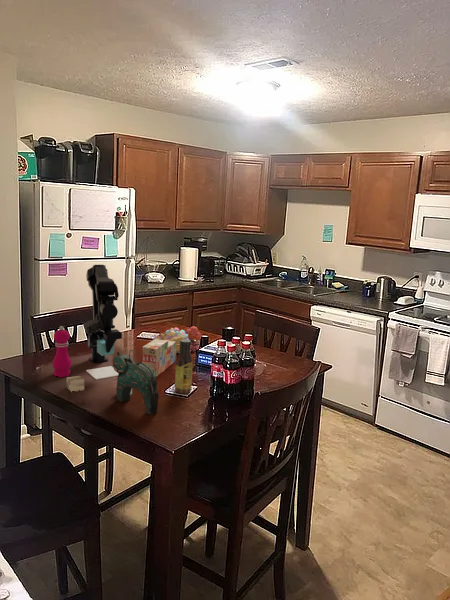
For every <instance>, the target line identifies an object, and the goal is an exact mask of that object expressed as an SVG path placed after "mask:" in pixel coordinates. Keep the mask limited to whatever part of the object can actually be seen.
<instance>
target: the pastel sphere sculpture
mask: <svg viewBox="0 0 450 600" xmlns="http://www.w3.org/2000/svg"><path fill="white" fill-rule="evenodd" d="M190 334H191V335H194V336H195V337H196V338H197V339H198V341H196V339H194V338H192V337H189V335H190ZM201 335H202V334H201V332H199V330H198V328H197V327H196V326H191V327H190V328H187V329H186V330H183V329H181V330H180V329H179V328H178V327H174V328H173V327H171V328H170V329H167V330H166V331H165V332H162V333H160V334H156V333H155V334H153V340H154V339H159V340H167V341H175V342H176V354H179V353H180V340H183V339H187V340H190V341H191V345H190V353H191V352H192V353H194V352H195V353H196V352H197V351H196V350H197V349H199V342H200V339H201V337H202V336H201Z"/></svg>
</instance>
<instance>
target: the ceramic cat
mask: <svg viewBox="0 0 450 600" xmlns="http://www.w3.org/2000/svg"><path fill="white" fill-rule="evenodd" d="M131 352H132V353H133V354H134V355H135V356H136V355H137V354H136V351H134V350H133V349H130V350H129V353H126V354H125V353H124V354H122V353H120V352H119V351H117V353H116V356H115V357H114V358H113V359H112V361H113V362H112V363H113V364H112V367H113V368H114V370H115V371H116V372H117V373H118V376H117V378H116V401H118V402H120V403H125V402H128V401H130V400H131V395H130V392H131V389H132V390H133V389H136V390H137V391H138V392H140V394H141V395H142V399H143V404H144V410H145V413H146V414H147V415H149V416H150V415H154V414H156V413H158V406H159V400H160V399H159V397H160V394H159V388H158V382H157V379H156V377H155V376H154V374H153V372H152V371H151V370H150V368H149V367H148V366H146V365H145V364H143V363H142V362H135V360H134V359H133V357H132V356H131Z"/></svg>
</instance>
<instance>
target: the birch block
mask: <svg viewBox="0 0 450 600" xmlns="http://www.w3.org/2000/svg"><path fill="white" fill-rule="evenodd" d="M66 388H67V389H68V391H69V390H70V391H71V392H70V391H69V392H70V393H73V392H72V391H75V392H79V390H80V391H85V379H84V378H83V377H82V376H81V375H77V376H76V375H74V376H70V377H69V376H67V377H66Z"/></svg>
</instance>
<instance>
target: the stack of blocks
mask: <svg viewBox="0 0 450 600" xmlns="http://www.w3.org/2000/svg"><path fill="white" fill-rule="evenodd" d="M176 360H177V353H176V342H175V341H167V340H159V339H154V338H153V339H152V340H151V341H150V342H148V343H147V344H145V345H143V346H142V355H141V361H142V362H141V363H143V364H145V365H146V366H148V367H149V368H150V370H151V371H152V372H153V374H154V376H155V378H156V377H158V376H159V375H161V374H162V373H163V372H165V370H166V369H168V368H169V367H170V366H171V365H173V364H174V363H176Z"/></svg>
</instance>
